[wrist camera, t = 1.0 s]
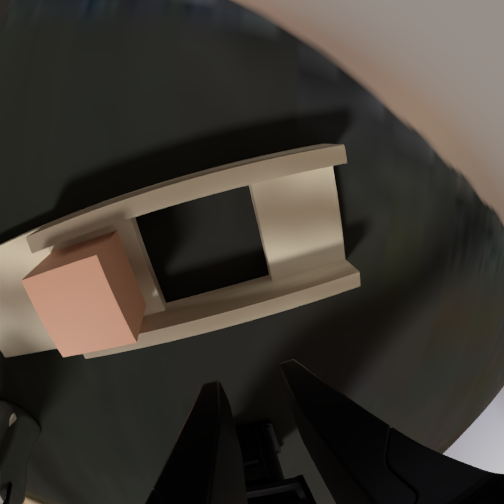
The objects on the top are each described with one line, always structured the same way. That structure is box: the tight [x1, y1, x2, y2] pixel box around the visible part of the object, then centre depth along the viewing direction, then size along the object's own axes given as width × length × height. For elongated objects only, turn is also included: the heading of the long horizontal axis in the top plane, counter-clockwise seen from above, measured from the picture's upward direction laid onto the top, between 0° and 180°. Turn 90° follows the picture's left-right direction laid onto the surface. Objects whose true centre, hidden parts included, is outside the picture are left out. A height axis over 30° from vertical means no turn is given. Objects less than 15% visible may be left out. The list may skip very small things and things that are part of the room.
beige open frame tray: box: [0, 144, 360, 359], centre depth 16 cm, size 8×28×3 cm, turn 103°
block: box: [21, 230, 146, 357], centre depth 15 cm, size 5×5×4 cm
